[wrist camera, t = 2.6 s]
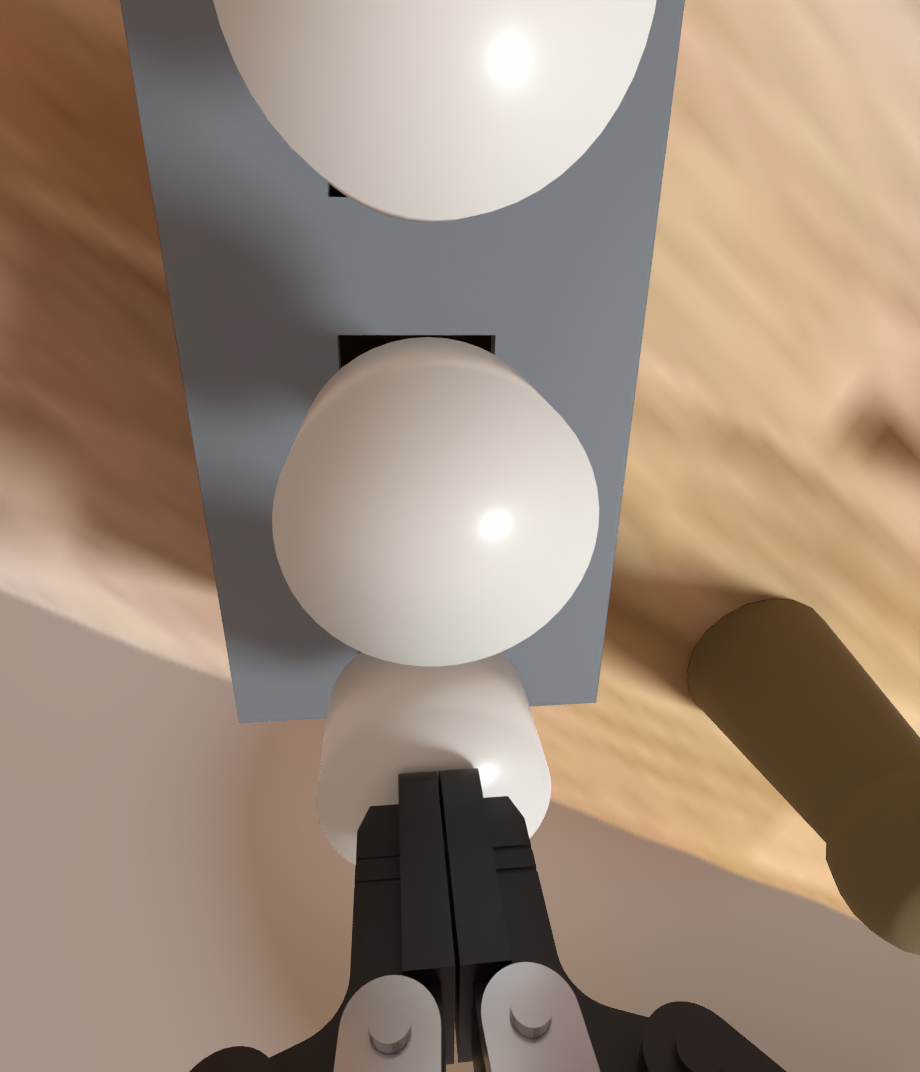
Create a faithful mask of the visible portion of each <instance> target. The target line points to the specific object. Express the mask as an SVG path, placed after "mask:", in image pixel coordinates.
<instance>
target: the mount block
mask: <svg viewBox="0 0 920 1072" xmlns="http://www.w3.org/2000/svg"><path fill="white" fill-rule="evenodd" d="M120 2H121V8H122V14H123V20H124V26H125V32H126V38H127V44H128V50H129V57H130V63H131V69H132V75H133V81H134V87H135V93H136V99H137V105H138V111H139V117H140V123H141V130H142V136H143V142H144V148H145V154H146V160H147V166H148V172H149V178H150V184H151V190H152V196H153V203H154V209H155V215H156V221H157V227H158V233H159V239H160V245H161V251H162V257H163V263H164V269H165V276H166V282H167V288H168V294H169V300H170V306H171V312H172V318H173V324H174V330H175V336H176V342H177V349H178V355H179V361H180V367H181V373H182V379H183V385H184V391H185V397H186V403H187V409H188V415H189V422H190V428H191V434H192V440H193V446H194V452H195V458H196V464H197V470H198V476H199V482H200V488H201V495H202V501H203V507H204V513H205V519H206V525H207V531H208V537H209V543H210V549H211V555H212V561H213V568H214V574H215V580H216V586H217V592H218V598H219V604H220V610H221V616H222V622H223V628H224V634H225V641H226V647H227V653H228V659H229V665H230V671H231V677H232V683H233V689H234V695H235V701H236V707H237V713H238V720H239V723H251V722H268V721H285V720H302V719H320V718H326V716H327V708H328V702H329V697H330V694H331V691H332V688H333V686H334V684H335V682H336V680H337V678H338V676H339V675H340V674H341V672H342V671H343V669H344V668H345V667H346V666H347V665H348V664H349V663H350V662H351V661H352V660H353V658H355V657H356V656H357V655H358V654H360V653H361V652H360V651H358V650H356V649H354V648H352V647H350V646H348V645H346V644H344V643H343V642H341V641H340V640H338V639H337V638H335V637H334V636H332V635H331V634H329V633H328V632H327V631H326V630H325V629H323V628H322V627H321V626H320V625H319V624H317V623H316V622H315V621H314V620H313V618H312V617H311V616H310V615H309V614H308V613H307V612H306V611H305V610H304V609H303V607H302V606H301V605H300V603H299V602H298V600H297V599H296V597H295V596H294V595H293V593H292V591H291V590H290V588H289V586H288V584H287V582H286V580H285V578H284V576H283V573H282V571H281V568H280V565H279V562H278V559H277V556H276V551H275V545H274V540H273V528H272V512H273V502H274V495H275V491H276V487H277V483H278V479H279V476H280V473H281V471H282V469H283V466H284V464H285V461H286V459H287V457H288V454H289V452H290V450H291V448H292V445H293V443H294V441H295V439H296V437H297V434H298V432H299V430H300V428H301V425H302V423H303V421H304V419H305V417H306V414H307V412H308V410H309V408H310V406H311V404H312V403H313V401H314V399H315V398H316V396H317V394H318V393H319V392H320V390H321V389H322V388H323V387H324V385H325V384H326V383H327V382H328V381H329V379H330V378H331V377H333V376H334V375H335V374H336V373H337V372H338V371H339V370H340V369H341V359H340V343H339V335H491V353H492V354H494V355H496V356H497V357H499V358H500V359H502V360H503V361H505V362H506V363H507V364H509V365H510V366H512V367H513V368H514V369H515V370H516V371H517V372H518V373H519V374H520V375H521V376H522V377H523V378H524V379H525V380H526V381H527V382H528V383H529V384H530V385H531V386H532V387H533V388H534V389H535V390H536V391H537V392H538V393H539V394H540V395H541V396H542V397H543V398H544V399H545V400H546V401H547V402H548V403H549V404H550V405H551V406H552V407H553V409H554V410H555V411H556V412H557V413H558V414H559V415H560V416H561V417H562V418H563V419H564V420H565V422H566V423H567V424H568V425H569V427H570V428H571V429H572V430H573V432H574V433H575V434H576V436H577V438H578V440H579V441H580V443H581V445H582V446H583V448H584V450H585V452H586V454H587V457H588V459H589V462H590V464H591V467H592V469H593V473H594V477H595V481H596V485H597V490H598V500H599V527H598V533H597V538H596V544H595V548H594V551H593V554H592V557H591V560H590V563H589V566H588V568H587V570H586V572H585V574H584V576H583V578H582V580H581V582H580V584H579V585H578V587H577V588H576V590H575V592H574V593H573V595H572V596H571V598H570V599H569V600H568V601H567V603H566V604H565V605H564V606H563V607H562V609H561V610H560V611H559V612H558V613H557V614H556V615H555V616H554V617H553V618H552V619H551V620H550V621H549V622H548V623H547V624H546V625H544V626H543V627H542V628H540V629H539V630H538V631H536V632H535V633H534V634H533V635H531V636H530V637H528V638H527V639H525V640H523V641H522V642H520V643H518V644H516V645H515V646H513V647H511V648H509V649H506V650H504V651H502V652H501V653H502V654H503V655H504V656H505V657H506V658H507V659H508V660H509V661H510V662H511V664H512V665H513V666H514V668H515V669H516V671H517V673H518V675H519V676H520V679H521V682H522V684H523V687H524V690H525V694H526V697H527V700H528V704H529V706H545V705H562V704H579V703H596V699H597V691H598V683H599V675H600V667H601V659H602V652H603V644H604V636H605V628H606V620H607V612H608V604H609V596H610V588H611V580H612V572H613V565H614V557H615V549H616V541H617V533H618V525H619V517H620V509H621V501H622V493H623V485H624V478H625V470H626V462H627V454H628V446H629V438H630V430H631V422H632V414H633V406H634V398H635V391H636V383H637V375H638V367H639V359H640V351H641V343H642V335H643V327H644V319H645V312H646V304H647V296H648V288H649V280H650V272H651V264H652V256H653V248H654V240H655V232H656V225H657V217H658V209H659V201H660V193H661V185H662V177H663V169H664V161H665V153H666V145H667V138H668V130H669V122H670V114H671V106H672V98H673V90H674V82H675V74H676V66H677V58H678V51H679V43H680V35H681V27H682V19H683V11H684V3H685V0H657V1H656V7H655V13H654V16H653V20H652V24H651V28H650V31H649V35H648V39H647V43H646V46H645V49H644V51H643V54H642V57H641V59H640V62H639V65H638V67H637V70H636V72H635V75H634V78H633V80H632V82H631V83H630V85H629V87H628V89H627V91H626V93H625V95H624V97H623V99H622V101H621V103H620V105H619V107H618V108H617V110H616V111H615V113H614V114H613V116H612V118H611V119H610V121H609V122H608V124H607V125H606V127H605V128H604V130H603V131H602V133H601V134H600V135H599V136H598V137H597V139H596V140H595V141H594V142H593V143H592V145H591V146H590V147H589V148H588V149H587V150H586V152H585V153H584V154H583V155H582V156H581V157H580V158H579V159H578V160H577V161H576V162H575V163H574V164H573V165H571V166H570V167H569V168H568V169H567V170H566V171H565V172H564V173H563V174H562V175H560V176H559V177H558V178H556V179H555V180H553V181H552V182H551V183H549V184H548V185H546V186H545V187H544V188H542V189H541V190H539V191H537V192H536V193H534V194H532V195H530V196H528V197H526V198H524V199H522V200H520V201H519V202H517V203H514V204H511V205H509V206H506V207H503V208H500V209H498V210H495V211H492V212H488V213H484V214H480V215H476V216H471V217H467V218H462V219H457V220H453V221H448V222H432V223H424V222H412V221H405V220H401V219H396V218H392V217H388V216H385V215H383V214H380V213H378V212H375V211H372V210H370V209H367V208H366V207H364V206H362V205H360V204H358V203H357V202H355V201H353V200H351V199H349V198H348V197H330V184H329V183H328V182H327V181H326V180H325V179H324V178H323V177H322V176H321V175H320V174H319V173H318V172H317V171H315V170H314V169H313V168H312V167H311V166H310V165H309V164H308V163H307V162H306V161H305V160H304V159H303V158H302V157H301V156H300V155H299V154H297V153H296V152H295V151H294V150H293V149H292V148H291V147H290V146H289V145H288V143H287V142H286V141H285V140H284V139H283V137H282V136H281V135H280V134H279V133H278V131H277V130H276V129H275V128H274V127H273V125H272V124H271V123H270V122H269V120H268V119H267V117H266V116H265V114H264V113H263V111H262V110H261V108H260V107H259V105H258V104H257V102H256V101H255V99H254V98H253V96H252V95H251V93H250V91H249V89H248V87H247V86H246V84H245V82H244V80H243V78H242V76H241V74H240V72H239V70H238V68H237V66H236V64H235V62H234V60H233V58H232V55H231V53H230V50H229V47H228V45H227V42H226V40H225V37H224V35H223V32H222V30H221V27H220V24H219V20H218V16H217V13H216V9H215V6H214V2H213V0H120Z"/></svg>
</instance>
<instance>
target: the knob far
mask: <svg viewBox="0 0 920 1072" xmlns="http://www.w3.org/2000/svg"><path fill="white" fill-rule="evenodd" d="M473 768H477V769H478V771H479V775H480V781H481V787H482V792H483V798H487V797H501V796H508V797H509V798H510V799H511V801H512V802H513V803H514V805H515V806H516V807H517V809H518V810H519V811H520V813H521V814H522V815H523V817H524V818H525V822H526V826H527V830H528V835H529V839H530V838H531V837H532V835H533V834H534V833H535V831H536V830H537V828H538V827H539V826H540V824H541V822H542V820H543V818H544V816H545V814H546V811H547V808H548V805H549V801H550V795H551V780H550V774H549V769H548V766H547V763H546V759H545V756H544V753H543V750H542V746H541V743H540V740H539V736H538V733H537V730H536V727H535V723H534V720H533V717H532V713H531V710H530V707H529V704H528V700H527V697H526V694H525V690H524V687H523V684H522V682H521V679H520V676H519V675H518V673H517V671H516V669H515V668H514V666H513V665H512V664H511V662H510V661H509V660H508V659H507V658H506V657H505V656H504V655H503V654H502V653H501V652H500V653H498V654H495V655H492V656H489V657H486V658H483V659H480V660H477V661H472V662H468V663H463V664H458V665H448V666H413V665H404V664H398V663H394V662H389V661H385V660H381V659H378V658H376V657H373V656H370V655H367V654H364V653H362V652H361V653H360V654H358V655H357V656H356V657H355V658H353V660H352V661H351V662H350V663H349V664H348V665H347V666H346V667H345V668H344V669H343V671H342V672H341V674H340V675H339V676H338V678H337V680H336V682H335V684H334V686H333V688H332V691H331V694H330V697H329V702H328V708H327V716H326V724H325V733H324V740H323V749H322V757H321V765H320V773H319V781H318V789H317V797H316V809H317V816H318V820H319V824H320V826H321V829H322V831H323V833H324V835H325V836H326V838H327V840H328V841H329V843H330V844H331V845H332V846H333V847H334V849H335V850H336V851H337V852H338V853H339V854H341V855H342V856H343V857H344V858H345V859H346V860H348V861H349V862H351V863H353V864H354V865H355V866H356V846H357V830H358V828H359V826H360V825H361V823H362V821H363V819H364V817H365V815H366V813H367V811H368V809H369V807H370V806H380V805H394V804H399V794H398V774H402V773H417V772H432V771H436V772H437V780H438V791H439V771H443V770H458V769H473Z"/></svg>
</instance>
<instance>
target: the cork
mask: <svg viewBox="0 0 920 1072" xmlns="http://www.w3.org/2000/svg"><path fill="white" fill-rule="evenodd" d="M687 673H688V688H689V690H690V692H691V694H692V696H693V698H694V700H695V702H696V704H697V705H698V706H699V707H700V708H701V709H702V710H703V711H704V712H705V714H706V715H707V716H708V717H709V718H710V719H711V720H712V721H713V722H714V723H715V724H716V725H717V726H718V727H719V729H720V730H721V731H722V732H723V733H724V734H725V735H726V736H727V737H728V738H729V739H730V740H731V741H732V742H733V744H734V745H735V746H736V747H737V748H738V749H739V750H740V751H741V752H742V753H743V754H744V755H745V756H746V757H747V759H748V760H749V761H750V762H751V763H752V764H753V765H754V766H755V767H756V768H757V769H758V770H759V771H760V772H761V774H762V775H763V776H764V777H765V778H766V779H767V780H768V781H769V782H770V783H771V784H772V785H773V786H774V787H775V789H776V790H777V791H778V792H779V793H780V794H781V795H782V796H783V797H784V798H785V799H786V800H787V801H788V802H789V804H790V805H791V806H792V807H793V808H794V809H795V810H796V811H797V812H798V813H799V814H800V815H801V816H802V817H803V819H804V820H805V821H806V822H807V823H808V824H809V825H810V826H811V827H812V828H813V829H814V830H815V831H816V832H817V834H818V835H819V836H820V837H821V838H822V839H823V840H824V841H825V842H826V860H827V863H828V866H829V868H830V871H831V873H832V876H833V878H834V881H835V883H836V885H837V887H838V890H839V892H840V894H841V896H842V897H843V899H844V900H845V902H846V903H847V905H848V906H849V908H850V909H851V911H852V912H853V914H854V915H855V916H856V917H858V918H859V919H860V920H861V921H862V922H863V923H864V924H865V925H866V926H867V927H868V928H869V929H870V930H871V931H873V932H874V933H875V934H877V935H878V936H880V937H881V938H882V939H884V940H885V941H887V942H889V943H890V944H892V945H894V946H896V947H898V948H899V949H901V950H903V951H905V952H910V953H914V954H918V955H920V737H919V736H918V735H917V734H916V732H915V731H914V730H913V729H912V727H911V726H910V725H909V724H908V723H907V721H906V720H905V719H904V718H903V716H902V715H901V714H900V713H899V711H898V710H897V709H896V708H895V707H894V705H893V704H892V703H891V702H890V700H889V699H888V698H887V697H886V696H885V694H884V693H883V692H882V691H881V689H880V688H879V687H878V686H877V685H876V683H875V682H874V681H873V680H872V678H871V677H870V676H869V675H868V673H867V672H866V671H865V670H864V669H863V667H862V666H861V665H860V664H859V662H858V661H857V660H856V659H855V658H854V656H853V655H852V654H851V653H850V651H849V650H848V649H847V648H846V646H845V645H844V644H843V643H842V642H841V640H840V639H839V638H838V637H837V635H836V634H835V633H834V632H833V631H832V629H831V628H830V627H829V626H828V624H827V623H826V622H825V621H824V620H823V619H822V618H821V617H820V616H819V615H818V614H817V613H816V612H815V611H814V609H813V608H811V607H809V606H806V605H804V604H801V603H799V602H797V601H794V600H781V599H769V600H764V601H760V602H755V603H751V604H747V605H745V606H743V607H741V608H739V609H737V610H735V611H733V612H731V613H729V614H727V615H725V616H724V617H723V618H722V619H721V620H719V621H718V622H717V623H716V624H715V625H714V626H712V627H711V628H710V629H709V630H708V631H707V632H706V633H705V634H704V636H703V637H702V639H701V640H700V642H699V643H698V644H697V646H696V647H695V649H694V650H693V653H692V657H691V660H690V663H689V666H688V669H687Z"/></svg>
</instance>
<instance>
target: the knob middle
mask: <svg viewBox="0 0 920 1072" xmlns="http://www.w3.org/2000/svg"><path fill="white" fill-rule="evenodd" d="M598 527H599V500H598V490H597V485H596V481H595V477H594V473H593V469H592V467H591V464H590V462H589V459H588V457H587V454H586V452H585V450H584V448H583V446H582V445H581V443H580V441H579V440H578V438H577V436H576V434H575V433H574V432H573V430H572V429H571V428H570V427H569V425H568V424H567V423H566V422H565V420H564V419H563V418H562V417H561V416H560V415H559V414H558V413H557V412H556V411H555V410H554V409H553V407H552V406H551V405H550V404H549V403H548V402H547V401H546V400H545V399H544V398H543V397H542V396H541V395H540V394H539V393H538V392H537V391H536V390H535V389H534V388H533V387H532V386H531V385H530V384H529V383H528V382H527V381H526V380H525V379H524V378H523V377H522V376H521V375H520V374H519V373H518V372H517V371H516V370H515V369H514V368H513V367H512V366H510V365H509V364H507V363H506V362H505V361H503V360H502V359H500V358H499V357H497V356H496V355H494V354H492V353H490V352H488V351H486V350H484V349H482V348H480V347H477V346H474V345H471V344H468V343H466V342H462V341H457V340H452V339H447V338H435V337H421V338H408V339H404V340H399V341H394V342H390V343H387V344H384V345H381V346H379V347H376V348H373V349H371V350H369V351H367V352H365V353H364V354H362V355H360V356H358V357H356V358H355V359H353V360H352V361H351V362H349V363H348V364H346V365H345V366H343V367H342V368H341V369H340V370H339V371H338V372H337V373H336V374H335V375H334V376H333V377H331V378H330V379H329V381H328V382H327V383H326V384H325V385H324V387H323V388H322V389H321V390H320V392H319V393H318V394H317V396H316V398H315V399H314V401H313V403H312V404H311V406H310V408H309V410H308V412H307V414H306V417H305V419H304V421H303V423H302V425H301V428H300V430H299V432H298V434H297V437H296V439H295V441H294V443H293V445H292V448H291V450H290V452H289V454H288V457H287V459H286V461H285V464H284V466H283V469H282V471H281V473H280V476H279V479H278V483H277V487H276V491H275V495H274V502H273V512H272V528H273V540H274V545H275V551H276V556H277V559H278V562H279V565H280V568H281V571H282V573H283V576H284V578H285V580H286V582H287V584H288V586H289V588H290V590H291V591H292V593H293V595H294V596H295V597H296V599H297V600H298V602H299V603H300V605H301V606H302V607H303V609H304V610H305V611H306V612H307V613H308V614H309V615H310V616H311V617H312V618H313V620H314V621H315V622H316V623H317V624H319V625H320V626H321V627H322V628H323V629H325V630H326V631H327V632H328V633H329V634H331V635H332V636H334V637H335V638H337V639H338V640H340V641H341V642H343V643H344V644H346V645H348V646H350V647H352V648H354V649H356V650H358V651H360V652H362V653H364V654H367V655H370V656H373V657H376V658H378V659H381V660H385V661H389V662H394V663H398V664H404V665H413V666H448V665H458V664H463V663H468V662H472V661H477V660H480V659H483V658H486V657H489V656H492V655H495V654H498V653H500V652H502V651H504V650H506V649H509V648H511V647H513V646H515V645H516V644H518V643H520V642H522V641H523V640H525V639H527V638H528V637H530V636H531V635H533V634H534V633H535V632H536V631H538V630H539V629H540V628H542V627H543V626H544V625H546V624H547V623H548V622H549V621H550V620H551V619H552V618H553V617H554V616H555V615H556V614H557V613H558V612H559V611H560V610H561V609H562V607H563V606H564V605H565V604H566V603H567V601H568V600H569V599H570V598H571V596H572V595H573V593H574V592H575V590H576V588H577V587H578V585H579V584H580V582H581V580H582V578H583V576H584V574H585V572H586V570H587V568H588V566H589V563H590V560H591V557H592V554H593V551H594V548H595V544H596V538H597V533H598Z"/></svg>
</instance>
